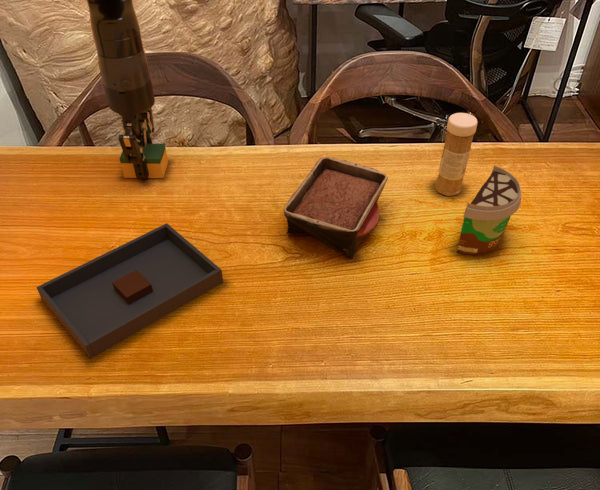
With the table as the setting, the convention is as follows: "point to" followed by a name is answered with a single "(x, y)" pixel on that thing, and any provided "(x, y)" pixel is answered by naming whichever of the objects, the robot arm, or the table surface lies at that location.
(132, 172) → the sponge
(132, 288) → the burnt scrap
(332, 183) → the soil filled planter
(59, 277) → the pan
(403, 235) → the table surface
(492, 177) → the food container
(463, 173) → the sprinkles bottle
